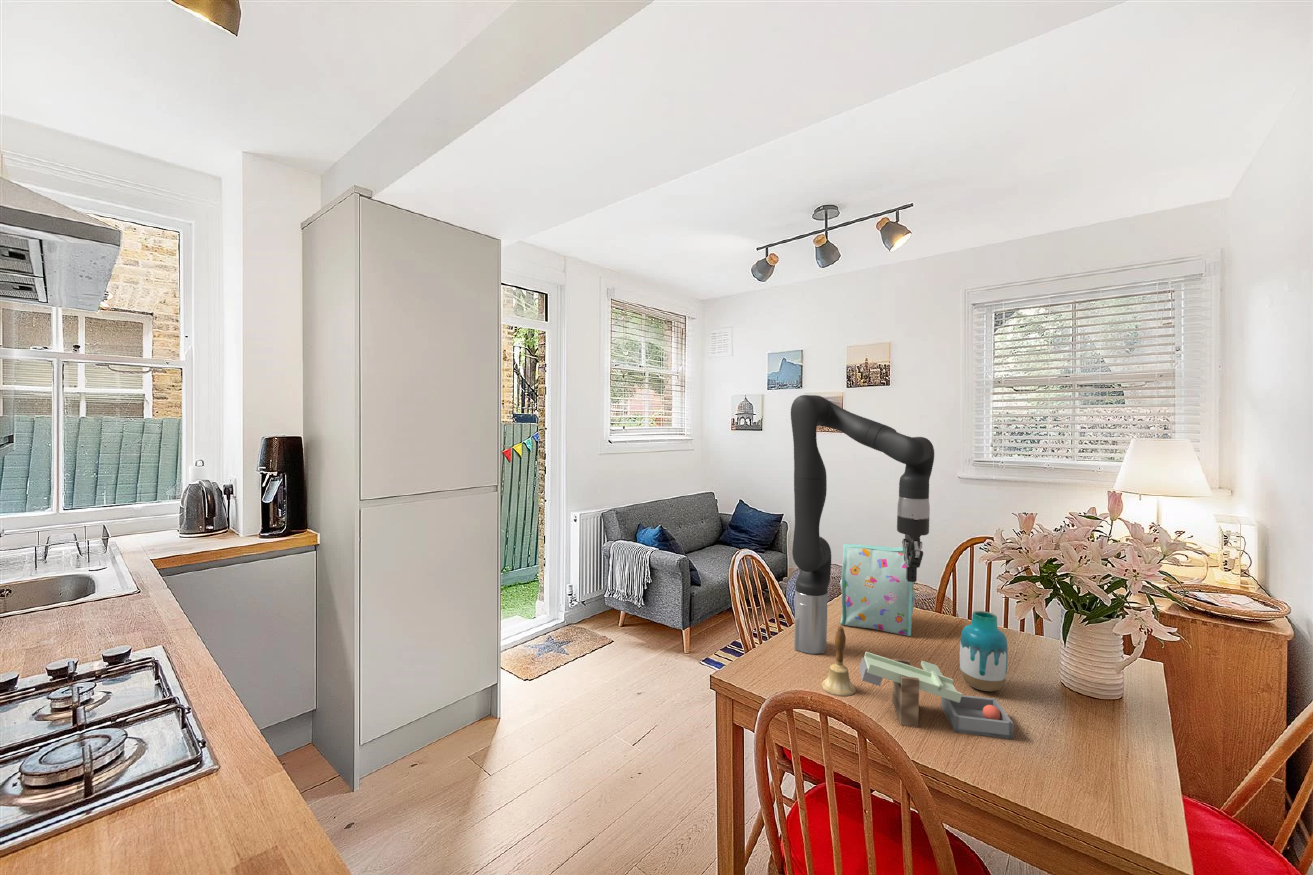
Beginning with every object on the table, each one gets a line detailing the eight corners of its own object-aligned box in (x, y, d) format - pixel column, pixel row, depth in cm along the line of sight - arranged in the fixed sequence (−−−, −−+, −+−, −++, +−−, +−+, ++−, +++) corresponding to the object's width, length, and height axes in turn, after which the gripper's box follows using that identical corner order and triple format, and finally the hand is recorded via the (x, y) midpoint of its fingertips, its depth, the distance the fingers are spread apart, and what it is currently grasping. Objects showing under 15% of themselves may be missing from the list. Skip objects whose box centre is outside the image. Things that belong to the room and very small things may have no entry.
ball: (986, 724, 124) (984, 709, 124) (981, 716, 127) (979, 701, 127) (1003, 725, 123) (1002, 709, 123) (997, 716, 127) (996, 701, 126)
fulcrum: (900, 724, 125) (902, 678, 124) (892, 701, 135) (893, 658, 134) (918, 727, 124) (919, 680, 123) (908, 703, 134) (909, 659, 134)
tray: (954, 731, 122) (954, 716, 122) (941, 706, 133) (941, 692, 132) (1012, 739, 120) (1013, 723, 119) (995, 713, 130) (995, 698, 130)
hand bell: (857, 684, 143) (858, 623, 143) (853, 699, 136) (855, 635, 135) (824, 677, 147) (825, 618, 146) (819, 691, 139) (820, 629, 139)
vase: (990, 702, 135) (992, 625, 134) (949, 682, 144) (952, 610, 143) (1015, 692, 140) (1018, 617, 139) (974, 674, 149) (977, 604, 148)
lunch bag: (913, 621, 186) (915, 542, 185) (914, 639, 171) (916, 554, 170) (842, 610, 196) (843, 535, 194) (837, 627, 181) (838, 546, 179)
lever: (862, 681, 128) (868, 661, 127) (854, 652, 143) (859, 634, 142) (956, 712, 124) (962, 691, 123) (937, 679, 139) (943, 661, 138)
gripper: (892, 509, 149) (891, 572, 150) (902, 518, 136) (900, 588, 137) (922, 510, 147) (920, 574, 148) (935, 520, 135) (933, 590, 135)
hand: (911, 581), depth 143 cm, fingers closed
